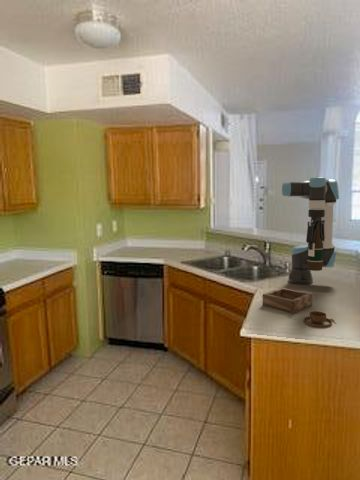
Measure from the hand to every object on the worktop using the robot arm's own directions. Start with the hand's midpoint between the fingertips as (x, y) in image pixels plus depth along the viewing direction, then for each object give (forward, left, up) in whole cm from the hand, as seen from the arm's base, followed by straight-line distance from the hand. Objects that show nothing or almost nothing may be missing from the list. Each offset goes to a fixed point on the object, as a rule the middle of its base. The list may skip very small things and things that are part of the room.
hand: (315, 254), depth 188 cm
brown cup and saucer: (+17, +9, -28) cm, 34 cm away
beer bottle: (0, 0, -8) cm, 8 cm away
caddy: (+6, -11, -27) cm, 30 cm away
